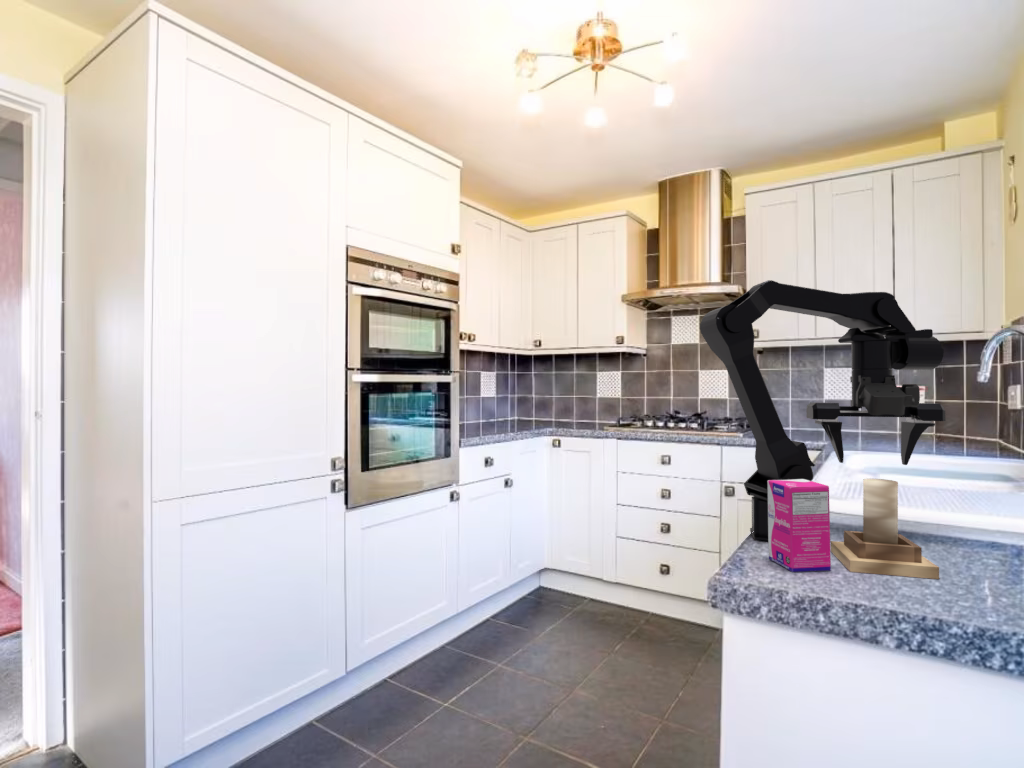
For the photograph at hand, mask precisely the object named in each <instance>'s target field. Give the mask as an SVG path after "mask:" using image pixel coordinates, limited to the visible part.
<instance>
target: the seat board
mask: <svg viewBox="0 0 1024 768" xmlns="http://www.w3.org/2000/svg"><path fill="white" fill-rule="evenodd" d="M830 553H832V554H833V556H835V557H836V558H837V560H839V561H840V563H841V564H843V566H844V567H845V568H846V569H847V570H848V572H850V573H862V574H875V575H884V576H885V575H886V576H898V577H910V578H919V579H921V578H922V579H933V580H940V567H939V566H938V565H937V564H935V563H933V562H932V561H930V560H929V559H927V558H926V557H924V556H923V555H922V554H923V553H922V547H921V546H919V545H918V544H916V543H914V542H913V541H912V540H910V539H909V538H907V537H905V536H904V535H903V534H900V533H898V545H896V544H881V543H867V542H863V531H854V530H843V541H838V540H837V541H836V540H835V541H834V540H830Z"/></svg>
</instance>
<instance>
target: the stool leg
mask: <svg viewBox="0 0 1024 768" xmlns="http://www.w3.org/2000/svg"><path fill="white" fill-rule="evenodd" d="M862 481H863V483H862V484H863V485H862V488H863V489H862V490H863V492H862V493H863V494H862V496H863V497H862V499H863V500H862V502H863V505H862V506H863V507H862V509H863V510H862V512H863V513H862V514H863V516H862V517H863V518H862V520H863V521H862V528H863V529H862V532H863V542H867V543H881V544H896V545H898V534H899V506H898V505H899V503H898V502H899V496H898V493H899V482H898V481H896V480H892V479H884V478H864V479H863V480H862Z"/></svg>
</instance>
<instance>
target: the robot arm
mask: <svg viewBox="0 0 1024 768" xmlns="http://www.w3.org/2000/svg"><path fill="white" fill-rule="evenodd" d="M898 303H899V302H898V301H897V300H896V296H895V295H894V294H892V293H889V292H887V291H868V292H867V291H866V292H852V293H840V292H834V291H828V290H823V289H816V288H810V287H804V286H798V285H792V284H787V283H780V282H778V281H775V280H765V281H762V282H760V283H757V284H756V285H752V287H750V289H748V290H747V291H746V292H745V293H744V294H742V295H740V296H739V297H738V298H736V299H734V300H733V301H731V302H730V303H728V304H727V305H724V306H722V307H718V308H716V309H713V310H710V311H709V312H707V313H706V314H705V315H704V316H703V317H702V319H701V320H700V323H699V330H700V333H701V336H702V338H703V339H704V340H705V343H706V344H707V345H708V347H709V349H710V351H712V352H713V354H715V355H716V357H718V359H719V360H720V361H721V362H722V363H723V364H724V366H725V368H726V370H727V374H728V376H729V379H730V381H731V383H732V386H733V389H734V391H735V394H736V396H737V398H738V401H739V403H740V406H741V408H742V410H743V413H744V415H745V418H746V420H747V421H746V422H747V423H748V425H749V428H750V430H751V433H752V435H753V438H754V440H755V452H754V459H755V464H756V468H757V469H756V471H754V472H753V474H751V476H750V477H749V478H747V480H746V481H745V482H744V484H743V485H744V486H743V487H744V488H745V489H744V490H745V491H746V494H747V495H748V496H751V527H750V528H749V531H750V534H751V533H752V532H753V531H754V532H753V533H752V534H751V536H752V538H753V539H754V540H756V541H765V542H767V541H768V482H767V481H768V480H792V479H805V480H809V481H812V480H813V479H814V471H813V468H812V467H815V466H816V464H815V463H814V462H813V461H812V460H811V458H810V456H809V453H808V448H807V445H806V444H805V442H804V441H802V442H801V441H796V440H791V438H790V437H789V436H788V435H787V434H786V431H785V429H784V426H783V424H782V422H781V419H780V417H779V414H778V412H777V408H776V407H775V404H774V402H773V399H772V396H771V394H770V392H769V389H768V387H767V384H766V382H765V379H764V377H763V374H762V372H761V369H760V367H759V365H758V363H757V360H756V358H755V354H754V351H755V349H754V348H755V332H754V328H753V327H754V326H753V323H755V322H756V321H757V320H758V319H760V318H761V317H762V316H763V315H765V313H766V312H767V311H768V310H769V309H771V310H778V311H783V312H790V313H795V314H802V315H809V316H812V317H813V316H815V317H820V318H825V319H828V320H831V321H834V322H835V323H837V324H838V325H839V326H842V327H844V328H848V329H847V332H846V333H845V334H843V335H842V336H841V337H839V338H838V343H840V344H851V348H850V349H851V354H850V355H851V376H850V377H849V378H850V379H849V381H850V383H851V400H850V405H845V406H844V405H840V403H839V402H814V401H813V402H809V403H808V404H807V406H806V419H811V420H814V424H817V425H821V427H822V428H823V430H824V431H825V434H826V435H827V437H828V439H829V441H830V443H831V446H832V449H833V450H834V453H835V455H836V458H837V460H838V463H839V464H840V463H841V464H843V463H844V453H845V452H844V446H843V445H844V444H843V437H842V428H843V427H842V426H843V422H842V421H839V417H858V418H859V417H860V418H861V417H862V418H872V417H873V418H905V421H903V420H901V421H900V424H901V426H900V432H901V434H900V457H901V458H900V459H901V464H902V465H904V466H907V465H908V463H909V462H910V459H911V456H912V454H913V452H914V449H915V447H916V445H917V443H918V441H919V439H920V437H922V436H921V435H922V434H923V433H924V432H925V431H926V430H927V429H928V428H929V427H930V428H932V427H935V426H936V423H934V422H946V410H945V407H944V406H943V405H942V404H941V403H937V402H936V403H933V402H932V403H931V402H920V400H921V399H920V398H921V395H920V386H919V385H918V384H914V383H913V384H912V383H909V384H907V383H906V384H905V383H904V384H902V385H901V386H897V384H896V376H895V374H894V375H893V369H894V370H896V371H897V370H898V371H912V370H913V371H932V370H934V369H937V368H938V367H939V366H940V365H941V363H942V361H943V358H944V353H945V351H944V350H945V349H944V347H943V346H942V343H941V342H940V340H939V339H938V338H937V337H935V336H933V331H934V330H933V329H931V328H930V329H929V328H924V329H918V330H917V329H916V327H915V326H914V325H913V323H912V322H911V321H910V320H909V318H908V317H907V315H906V314H905V312H904V311H903V310H902V309H901V307H900V305H899V304H898ZM862 408H865V410H859V409H862Z"/></svg>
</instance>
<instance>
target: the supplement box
mask: <svg viewBox="0 0 1024 768" xmlns="http://www.w3.org/2000/svg"><path fill="white" fill-rule="evenodd" d="M767 482H768V559H769V560H770V561H771V562H774V563H776V564H778V565H779V566H782V567H783V568H785V569H786V570H788V571H790V572H792V573H799V572H801V573H803V572H805V573H806V572H807V573H808V572H831V571H832V569H831V568H832V565H831V561H832V560H831V527H830V526H831V522H830V520H831V519H830V518H831V517H830V513H831V512H830V486H829V485H827V484H823V483H819V482H816V481H812V480H811V481H809V480H805V479H792V480H768V481H767Z"/></svg>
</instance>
